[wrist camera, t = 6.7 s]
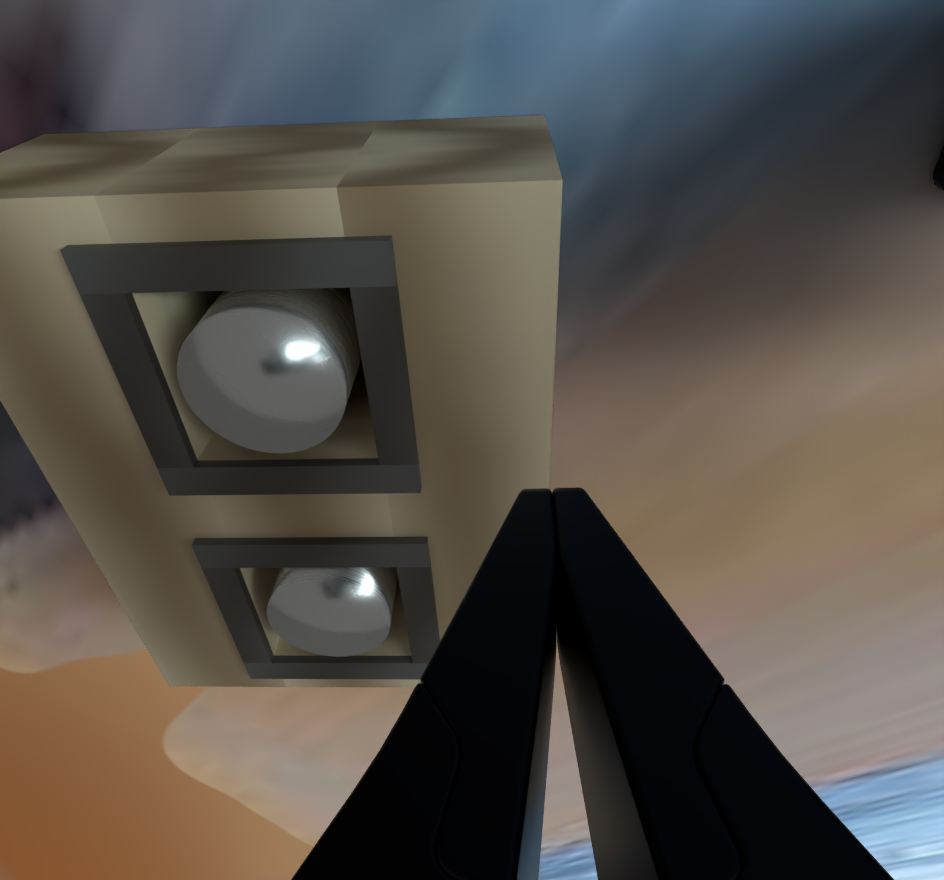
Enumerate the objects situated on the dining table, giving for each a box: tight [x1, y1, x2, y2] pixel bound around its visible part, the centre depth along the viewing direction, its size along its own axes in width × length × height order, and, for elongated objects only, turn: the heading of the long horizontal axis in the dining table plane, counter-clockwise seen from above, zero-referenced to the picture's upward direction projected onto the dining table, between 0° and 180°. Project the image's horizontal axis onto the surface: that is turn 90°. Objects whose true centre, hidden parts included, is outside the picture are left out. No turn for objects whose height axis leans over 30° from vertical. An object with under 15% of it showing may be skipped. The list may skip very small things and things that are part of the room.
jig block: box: [0, 115, 563, 687], centre depth 21 cm, size 14×18×6 cm
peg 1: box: [177, 287, 361, 453], centre depth 18 cm, size 4×4×6 cm
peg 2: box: [267, 567, 398, 657], centre depth 23 cm, size 4×4×6 cm
